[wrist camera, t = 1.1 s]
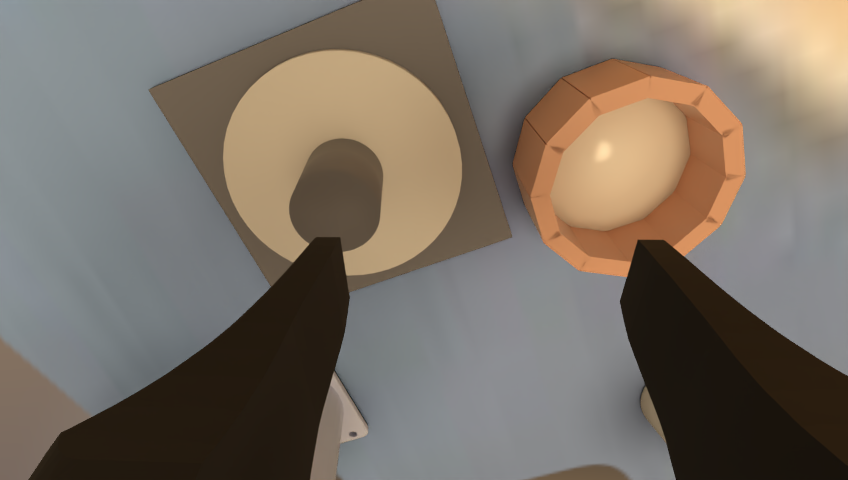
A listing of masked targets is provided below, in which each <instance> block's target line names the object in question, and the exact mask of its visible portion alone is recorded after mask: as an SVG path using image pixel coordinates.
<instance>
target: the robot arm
mask: <svg viewBox="0 0 848 480" xmlns="http://www.w3.org/2000/svg"><path fill="white" fill-rule="evenodd" d="M349 299H350V296H349V290H348V283H347V277H346V271H345V264H344V258H343V251H342V245H341V238H340V237H316V238H314V239H313V240H312V241H311V243H310V244H309V245H308V246H307V247H306V248H305V250H304V251H303V252H302V253H301V254H300V255H299V257H298V258H297V259H296V260H295V261H294V262H293V263H292V265H291V266H290V267H289V268H288V269H287V270H286V271H285V272H284V274H283V275H282V276H281V277H280V278H279V279H278V280H277V281H276V282H275V283H274V284H273V285H272V286H271V288H270V289H269V290H268V291H267V292H266V293H265V294H264V295H263V296H262V297H261V298H260V299H259V300H258V301H257V302H256V303H255V304H254V305H253V306H252V307H251V308H250V309H249V310H247V311H246V312H245V313H244V314H243V315H242V316H241V317H240V318H239V319H238V320H237V321H236V322H235V323H233V324H232V325H231V326H230V327H229V328H228V329H227V330H225V331H224V332H223V333H222V334H221V335H219V336H218V337H217V338H216V339H214V340H213V341H212V342H211V343H209V344H208V345H207V346H205V347H204V348H203V349H201V350H200V351H199V352H197V353H196V354H194V355H193V356H192V357H190V358H189V359H187V360H186V361H184V362H183V363H182V364H180V365H179V366H177V367H176V368H175V369H173V370H172V371H170V372H169V373H167V374H166V375H164V376H163V377H161V378H159V379H158V380H156V381H155V382H153V383H151V384H150V385H148V386H147V387H145V388H143V389H142V390H140V391H138V392H137V393H135V394H133V395H131V396H130V397H128V398H126V399H125V400H123V401H121V402H119V403H117V404H116V405H114V406H112V407H110V408H108V409H106V410H104V411H102V412H101V413H99V414H97V415H95V416H93V417H91V418H89V419H87V420H85V421H83V422H81V423H79V424H78V425H76V426H74V427H72V428H70V429H68V430H66V431H63V432H61V433H60V435H59V436H58V437H57V439H56V440H55V441H54V443H53V444H52V446H51V447H50V449H49V450H48V451H47V453H46V454H45V456H44V457H43V459H42V460H41V462H40V463H39V465H38V466H37V468H36V469H35V471H34V472H33V474H32V475H31V477H30V478H29V480H336V472H337V464H338V456H339V448H340V443H343V442H347V441H350V440H354V439H357V438H360V437H364V436H366V435H367V434H368V425H367V424H366V422H365V421H364V419H363V417H362V416H361V414H360V412H359V411H358V409H357V407H356V406H355V404H354V402H353V401H352V399H351V398H350V396H349V394H348V393H347V391H346V389H345V388H344V386H343V384H342V383H341V381H340V380H339V378H338V376H337V375H336V373H335V371H334V370H335V366H336V362H337V359H338V355H339V352H340V348H341V344H342V341H343V337H344V333H345V327H346V320H347V314H348V306H349ZM620 304H621V309H622V314H623V318H624V323H625V327H626V331H627V335H628V339H629V342H630V345H631V348H632V350H633V353H634V356H635V358H636V361H637V364H638V366H639V369H640V372H641V374H642V377H643V379H644V382H645V385H646V387H647V390H648V392H649V395H650V398H651V400H652V403H653V405H654V408H655V411H656V413H657V416H658V419H659V421H660V424H661V427H662V430H663V433H664V436H665V440H666V444H667V447H668V451H669V455H670V459H671V463H672V466H673V470H674V474H675V478H676V480H848V376H847V375H845V374H843V373H841V372H840V371H838V370H836V369H834V368H833V367H831V366H829V365H828V364H826V363H824V362H823V361H821V360H819V359H818V358H816V357H815V356H813V355H812V354H810V353H809V352H807V351H806V350H804V349H802V348H801V347H799V346H798V345H796V344H795V343H793V342H792V341H790V340H789V339H787V338H786V337H784V336H783V335H781V334H780V333H778V332H777V331H776V330H774V329H773V328H771V327H770V326H769V325H767V324H766V323H765V322H763V321H762V320H761V319H759V318H758V317H757V316H755V315H754V314H753V313H751V312H750V311H749V310H747V309H746V308H745V307H744V306H742V305H741V304H740V303H738V302H737V301H736V300H735V299H733V298H732V297H731V296H730V295H729V294H727V293H726V292H725V291H724V290H722V289H721V288H720V287H719V286H718V285H716V284H715V283H714V282H713V281H712V280H711V279H709V278H708V277H707V276H706V275H705V274H704V273H702V272H701V271H700V270H699V269H698V268H697V267H696V266H694V265H693V264H692V263H691V262H690V261H689V260H687V259H686V258H685V257H684V256H683V255H682V254H681V253H679V252H678V251H677V250H676V249H675V248H673V247H672V246H671V245H670V244H669V243H667V242H666V241H665V240H637V244H636V247H635V251H634V254H633V258H632V261H631V265H630V268H629V272H628V275H627V279H626V282H625V286H624V289H623V293H622V296H621V300H620ZM353 431H354V432H353Z"/></svg>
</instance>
